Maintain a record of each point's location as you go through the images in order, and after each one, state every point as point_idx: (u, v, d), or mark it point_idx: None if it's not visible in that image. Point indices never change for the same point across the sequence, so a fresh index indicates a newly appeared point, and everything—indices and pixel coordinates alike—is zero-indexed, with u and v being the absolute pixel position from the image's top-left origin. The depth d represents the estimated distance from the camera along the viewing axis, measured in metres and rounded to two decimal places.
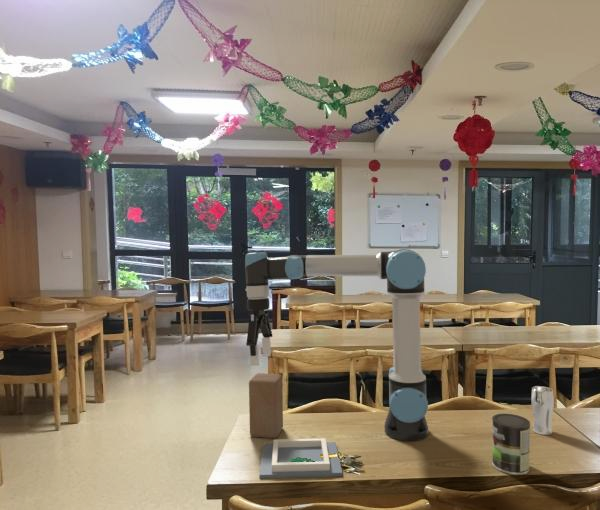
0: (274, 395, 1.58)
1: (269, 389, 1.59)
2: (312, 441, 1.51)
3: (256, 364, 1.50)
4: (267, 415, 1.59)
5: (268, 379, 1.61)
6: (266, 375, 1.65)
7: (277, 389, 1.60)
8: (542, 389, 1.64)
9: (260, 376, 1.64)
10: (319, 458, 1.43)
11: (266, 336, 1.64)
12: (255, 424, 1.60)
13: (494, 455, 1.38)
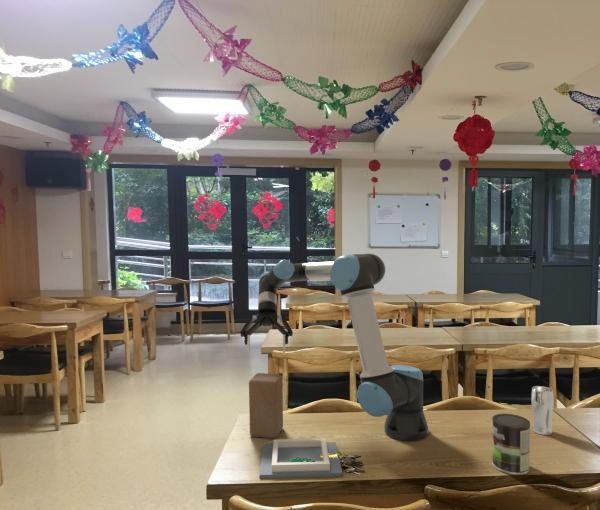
0: (274, 395, 1.58)
1: (269, 389, 1.59)
2: (312, 441, 1.51)
3: None
4: (267, 415, 1.59)
5: (268, 379, 1.61)
6: (266, 375, 1.65)
7: (277, 389, 1.60)
8: (542, 389, 1.64)
9: (260, 376, 1.64)
10: (319, 458, 1.43)
11: None
12: (255, 424, 1.60)
13: (494, 455, 1.38)
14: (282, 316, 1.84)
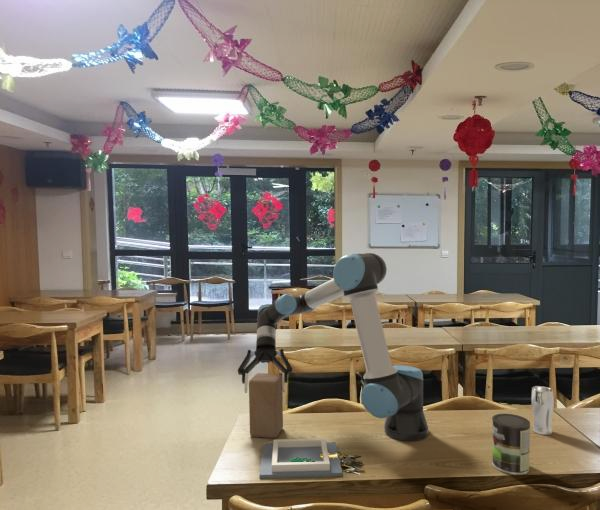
0: (274, 395, 1.58)
1: (269, 389, 1.59)
2: (312, 441, 1.51)
3: None
4: (267, 415, 1.59)
5: (267, 379, 1.61)
6: (266, 375, 1.65)
7: (277, 389, 1.60)
8: (542, 389, 1.64)
9: (260, 376, 1.64)
10: (319, 458, 1.43)
11: None
12: (255, 424, 1.60)
13: (494, 455, 1.38)
14: (281, 352, 1.76)
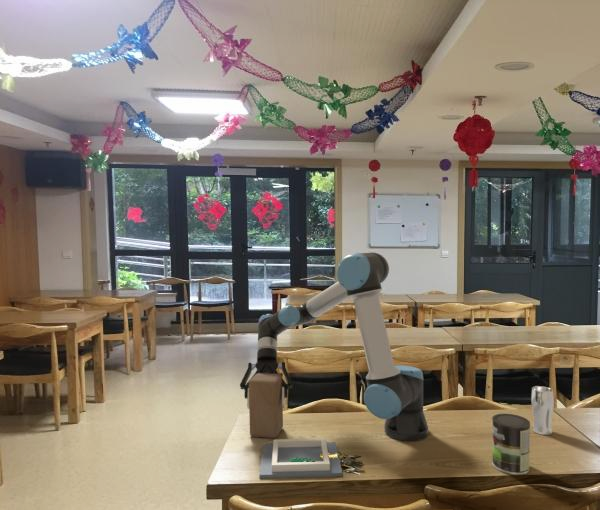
0: (274, 395, 1.58)
1: (269, 389, 1.59)
2: (312, 441, 1.51)
3: (247, 404, 1.61)
4: (267, 415, 1.59)
5: (267, 379, 1.61)
6: (266, 375, 1.65)
7: (277, 389, 1.60)
8: (542, 389, 1.64)
9: (260, 376, 1.64)
10: (319, 458, 1.43)
11: None
12: (255, 424, 1.60)
13: (494, 455, 1.38)
14: (283, 365, 1.71)
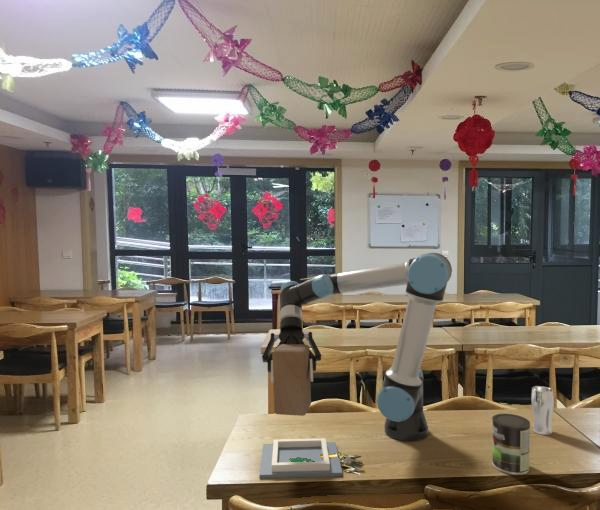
0: (302, 367, 1.39)
1: (296, 360, 1.39)
2: (312, 441, 1.51)
3: (271, 378, 1.42)
4: (293, 389, 1.40)
5: (294, 349, 1.42)
6: (292, 346, 1.46)
7: (305, 360, 1.41)
8: (542, 389, 1.64)
9: (284, 347, 1.45)
10: (319, 458, 1.43)
11: None
12: (280, 400, 1.41)
13: (494, 455, 1.38)
14: (309, 335, 1.52)
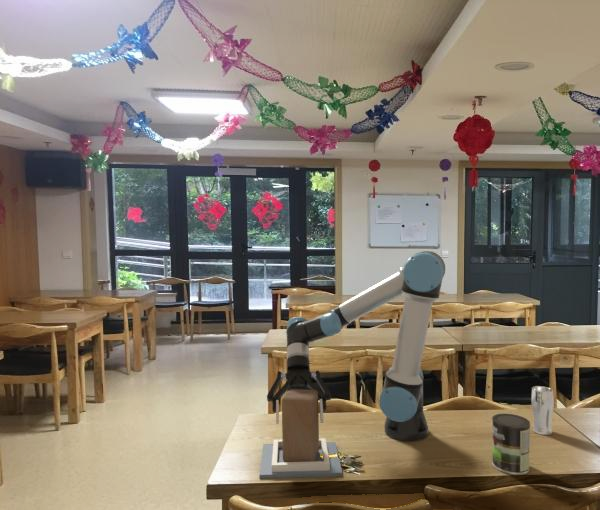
0: (312, 415, 1.38)
1: (306, 408, 1.38)
2: None
3: (276, 419, 1.40)
4: (303, 438, 1.38)
5: (303, 396, 1.40)
6: (301, 391, 1.44)
7: (314, 408, 1.39)
8: (542, 389, 1.64)
9: (293, 393, 1.43)
10: (319, 458, 1.43)
11: None
12: (289, 449, 1.39)
13: (494, 455, 1.38)
14: (317, 374, 1.50)
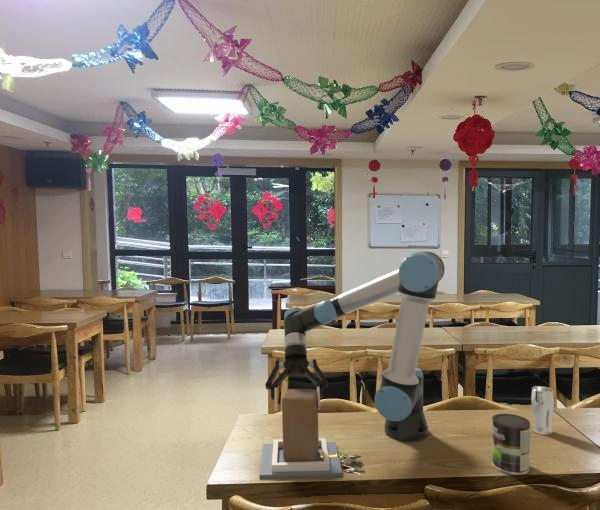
0: (312, 414, 1.38)
1: (306, 407, 1.38)
2: None
3: None
4: (304, 437, 1.38)
5: (303, 396, 1.40)
6: (300, 391, 1.45)
7: (315, 407, 1.40)
8: (542, 389, 1.64)
9: (293, 392, 1.44)
10: (319, 458, 1.43)
11: None
12: (290, 449, 1.39)
13: (494, 455, 1.38)
14: (314, 363, 1.54)
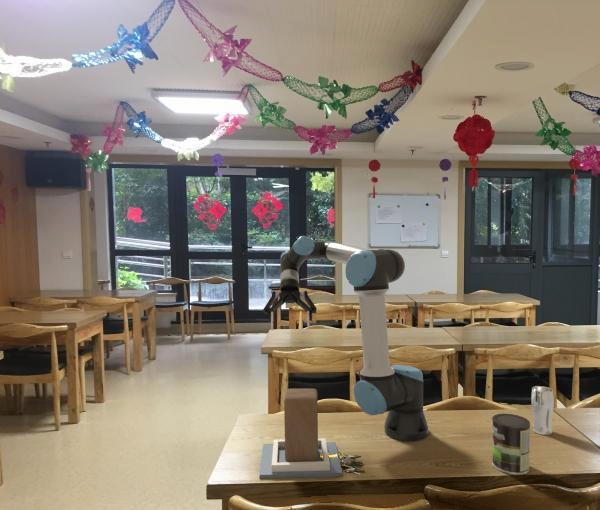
0: (315, 413, 1.39)
1: (309, 407, 1.39)
2: None
3: None
4: (306, 436, 1.39)
5: (305, 395, 1.41)
6: (301, 391, 1.45)
7: None
8: (542, 389, 1.64)
9: (294, 392, 1.44)
10: (319, 458, 1.43)
11: None
12: (292, 448, 1.39)
13: (494, 455, 1.38)
14: (305, 293, 1.81)
